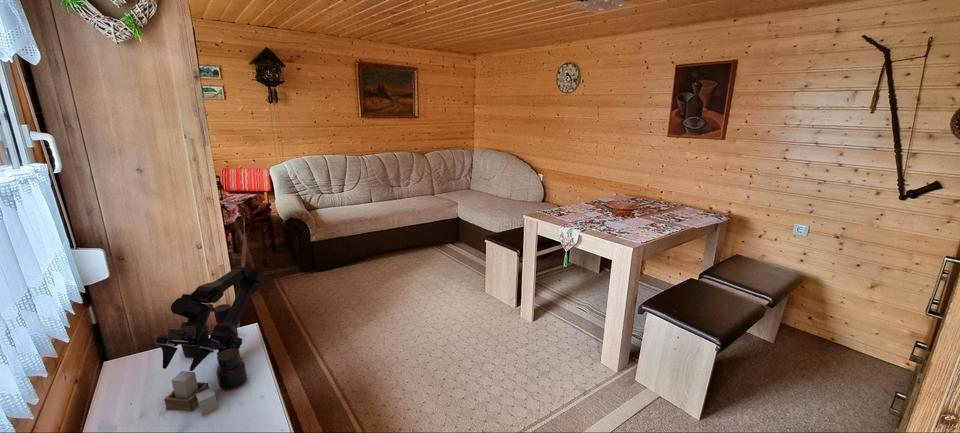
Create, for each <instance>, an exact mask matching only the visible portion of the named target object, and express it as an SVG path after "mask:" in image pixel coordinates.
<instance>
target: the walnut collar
mask: <svg viewBox="0 0 960 433" xmlns="http://www.w3.org/2000/svg"><path fill="white" fill-rule="evenodd" d="M197 385H198V389H199V390H198V391H197V392H196V393H195V394H194V395H192V396H191V397H190V398H189V399H180V398H176V397H175V393H174V390H172V392H170V393H169V394H168V395H167V396H166V397H164V398H163V401H164V404H165V409H166V410H174V411H175V410H176V411H185V412H192V411H193V410H194V409H195V408H196V407H198V402H197V397H196V394H197V393H200V392H202V391H204V390H207V389H209V388H210V386H209V383H208V382H200V381H197Z"/></svg>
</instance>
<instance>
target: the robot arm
mask: <svg viewBox="0 0 960 433" xmlns="http://www.w3.org/2000/svg"><path fill="white" fill-rule="evenodd" d="M264 282H265V275H264V273H263V272H261V271H256V270H255V269H251V268H250V267H248V266H241V265H240V266H239V265H238V266H235V267H233V269H232V270H230V271H228V272H227V273H225V274H224V275H222V276H220V277H219V278H218V279H216V280H215V281H213V282H212V281H211V282H207V283H204V284H200V285H199V286H197V287H196V288H195V290H193V291H192V292H191V293H190V294H187V293H182V295H181V297H178V298H176V299H175V300H174V301H173V302H172V303H171V305H170V312H171V313H172V314H174V315H177V316H180V317H183V318H185V319H186V322H185V321H183V322H182V323H181V325H180V326H175V327H169V328H168V329H167V335H166V334H160V335H159V336H157V338H156V340H155V341H154V343H155V344H157V347H160V349H161V351H162V369H163V370H164V369H165V370H166V369H167V368H168V366H169V365H170V363H171V361H172V360H173V357H174V356H175V354H176V352H177V351H178V349H179V348H178V346H179V345H191V346H200V348H198V347H195V356H194V357H192V361H191V363H190V367H189V372H194V370H195V369H196V368H197V367H198V366H199V365H200V364H201V363H202V362H203V360H204V359H205V358H207V357H208V355H210V354H211V353H214V351H218V352H216V356H217V355H218V354H219V353H220V352H222V351H224V350H226V349H230V348H236V349H238V350H239V351H240V348H241V346H242V345H243V338H241V337H239V336H238V335H239V332H238V325H239V323H240V322H241V319H242V317H243V314H244V313H245V310H246V308H247V306H248V305H249V302H250V300H251V297H252V296H253V295H254V293H255V292H257V291H258V290H259V289H260V288H261V287H262V285H263V284H264ZM237 283H238V285H239V291H238V293H237V294H236V296H235V298H234V300H233V302H232V304H231V305H230V306H231V308H230V310H229V312H228V314H227V316H226V318H225V320H224V322H223V323H222V324H221V325H215V326H213V329H212V332H211V333H210V334H209V339H208V338H201V335H202V333H203V330H206V329H207V328H208V326H207V327H206V326H205V325H207V323H208V320H209V317H210V315H211V312H212V313H214V312H215V306H214V304H216V303H217V302H219V300H221V299H222V298H223V296H224V293H225V292H226V290H228V289H230V288H231V287H232V286H234V285H235V284H237ZM191 341H194V342H193V343H191ZM184 342H186V343H184ZM240 359H241V360H242V357H241V356H240ZM242 361H243V360H242Z"/></svg>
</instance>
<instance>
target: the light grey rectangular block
mask: <svg viewBox="0 0 960 433" xmlns="http://www.w3.org/2000/svg"><path fill="white" fill-rule="evenodd" d="M170 381H171V384H172V388H173V391H174V393H175V397H176V398H180V399H189V398H190V397H191V396H192V395H194V394H195V393H196V392H197V391H198V390H199V389H198V385H197V382H198V381H197V377H196V372H195V371H185V370H182V371H180V372H179V373H178V374H177V375H176V376H175V377H173V378H172V379H171V380H170Z"/></svg>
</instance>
